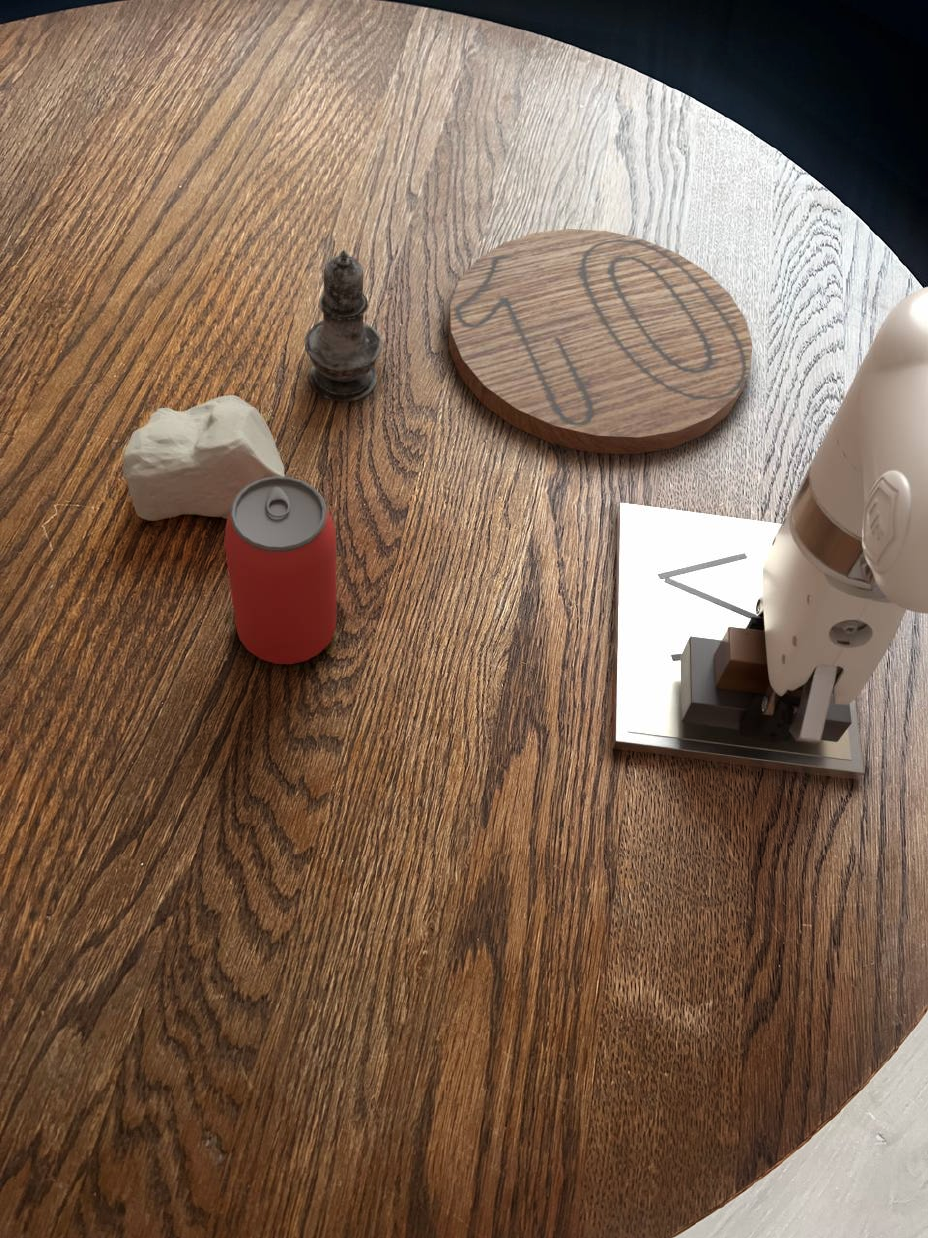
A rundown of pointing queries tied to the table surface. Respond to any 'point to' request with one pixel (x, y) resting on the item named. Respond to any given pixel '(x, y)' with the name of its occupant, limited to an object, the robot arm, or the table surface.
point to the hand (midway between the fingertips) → (761, 693)
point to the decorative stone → (198, 459)
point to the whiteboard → (702, 607)
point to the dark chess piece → (343, 336)
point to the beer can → (282, 569)
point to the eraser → (736, 682)
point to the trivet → (599, 341)
